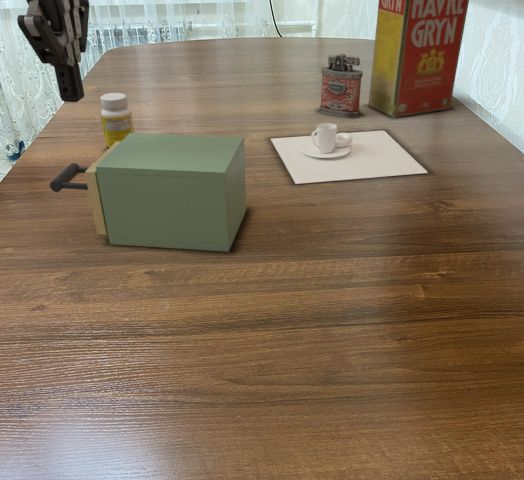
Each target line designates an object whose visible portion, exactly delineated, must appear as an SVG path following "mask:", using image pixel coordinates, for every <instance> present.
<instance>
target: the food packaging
mask: <svg viewBox="0 0 524 480" xmlns="http://www.w3.org/2000/svg"><path fill="white" fill-rule="evenodd" d="M469 3H470V0H378V4H377V5H378V6H377V17H376V26H375V27H376V28H375V36H374V48H373V56H372V57H373V59H372V68H371V77H370V86H369V87H370V88H369V97H368V105H367V106H368V107H370V108H372V109H374V110H376V111H379V112H381V113H382V114H385V115H386V116H389V117H391V118H393V119H396V118H402V117H409V116H415V115H421V114H427V113H433V112H439V111H445V110H451V105H452V101H453V94H454V87H455V81H456V75H457V70H458V63H459V59H460V53H461V48H462V42H463V36H464V30H465V25H466V19H467V14H468V8H469Z"/></svg>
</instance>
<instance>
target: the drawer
mask: <svg viewBox="0 0 524 480" xmlns="http://www.w3.org/2000/svg"><path fill="white" fill-rule="evenodd" d="M120 142H121V141H116V142H115V143H114V144H113V145H112V146H111V147H110V148H109V149H108V150H107V149H106V150H105V151H104V153H102V154H101V155H100V156H99V157H98V158H97V159H96V160H95V161H94V162H93V163H92V164H91V165H90V166H89V167H87V166H86V167H85V166H80V165H79V164H77V163H76V162H72V163H70V164H69V165H68V166H67V167H66V168H65V169H63V170H62V171H61V172H60V173H59V174H58V175H57V176H55V178H53V179H52V180H51V181H50V182H49V188H50V190H51V191H53V192H54V193H59V192H61V191H62V190H63V189H64V190H83V191H88V195H89V200H90V205H91V210H92V216H93V220H94V225H95V231H96V234H97V235H101V236H102V235H103V236H108V230H107V225H106V219H105V214H104V209H103V203H102V198H101V193H100V187H99V182H98V176H97V171H96V166H97V165H98V164H99V163H100V162H101V161H102V160H103V159H104V158H105V157H106V156H107V155H108V154H109V153H110V152H111V151H112V150H113V149H114V148H115V147H116V146H117V145H118V144H119V143H120ZM78 174H84V175H85V180H86V183H85V182H71V181H72V180H73V179H75V178H76V176H77V175H78Z"/></svg>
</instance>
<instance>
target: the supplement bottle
mask: <svg viewBox="0 0 524 480" xmlns="http://www.w3.org/2000/svg"><path fill="white" fill-rule="evenodd" d="M100 106H101V107H102V109H101V111H100V117H101V122H102V128H103V129H102V130H103V133H104V141H105V145H106V151H107V150H108V149H109V148H110V147H111V146H112V145H113V144H114V143H115V142H116V141H122V140H123V139H124V138H125V137H126V136H127V135H128V134H129V133H135V128H134V122H133V114H132V110H131V108H130V107H129V103H128V96H127V94H125V93H122V92H121V93H120V92H109V93H105V94H102V95H101V96H100Z"/></svg>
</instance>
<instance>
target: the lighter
mask: <svg viewBox="0 0 524 480" xmlns="http://www.w3.org/2000/svg"><path fill="white" fill-rule="evenodd" d="M327 64H328V66H322V67H321V68H320V74H321V86H320V87H321V88H320V89H321V91H320V105H319V112H320V113H323V114H327V115H331V116H336V117H343V118H351V119H352V118H359V117H360V113H361V112H360V101H361V100H360V99H361V89H362V88H361V86H362V78H363V73H364V72H363V71H362V70H359V69H354V66H355V67H358V66H360V64H361V59H360V57H359V56H352V55H346V54H345V53H339V54H337V55H335V54H328V55H327Z"/></svg>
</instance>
